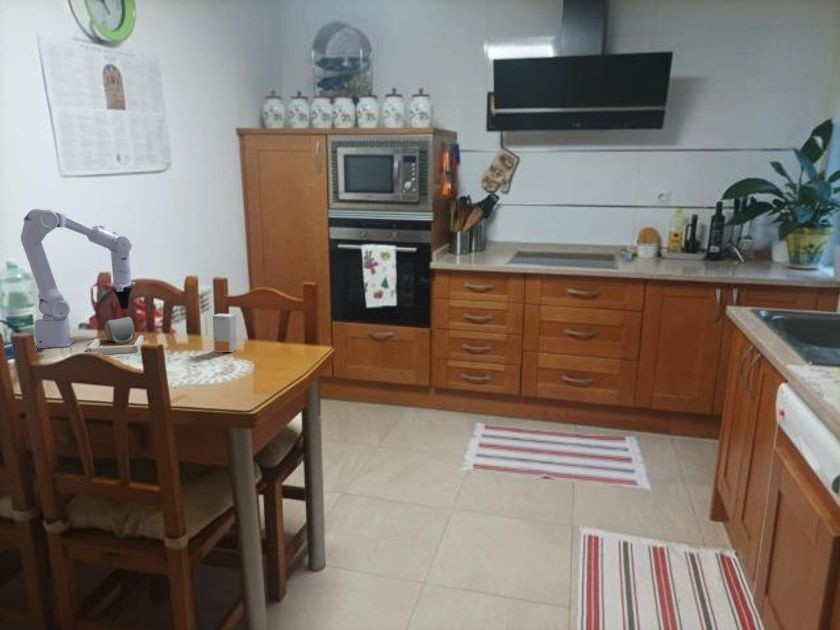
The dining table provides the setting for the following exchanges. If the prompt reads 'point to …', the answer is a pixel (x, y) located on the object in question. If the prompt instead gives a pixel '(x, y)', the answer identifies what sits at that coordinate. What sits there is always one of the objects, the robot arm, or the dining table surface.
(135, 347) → the holder
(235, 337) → the skincare box
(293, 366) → the dining table surface
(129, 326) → the ceramic mug
